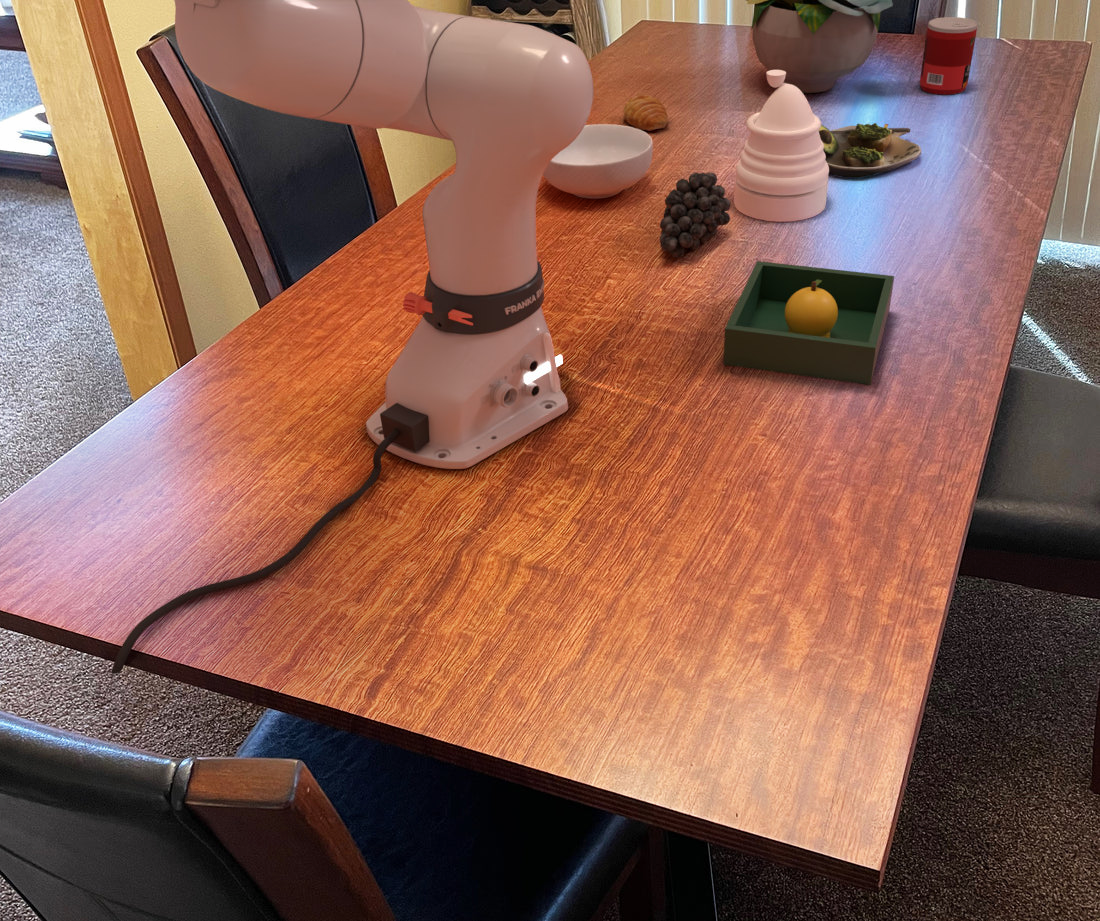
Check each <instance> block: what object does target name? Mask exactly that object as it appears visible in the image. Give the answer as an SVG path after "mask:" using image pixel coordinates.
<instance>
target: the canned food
mask: <svg viewBox="0 0 1100 921" xmlns="http://www.w3.org/2000/svg"><path fill="white" fill-rule="evenodd" d="M977 32H978V22H977V21H976V20H974V19H971V18H966V17H960V16H958V17H957V16H945V17H937V18H932V19H930V20H929V21H928V24H927V27H926V34H925V41H924V49H923V55H922V61H921V70H920V79H919V87H920V89H921V90H922V91H924V92H925V93H929V94H933V95H940V96H941V95H942V96H944V95H945V96H949V95H951V96H952V95H957V94H960V93H963V92H964V91H966V88H967V86H968V85H969V79H970V72H971V67H972V61H973V56H974V49H975V43H976V39H977V38H976V37H977Z"/></svg>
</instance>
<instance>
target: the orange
mask: <svg viewBox="0 0 1100 921" xmlns="http://www.w3.org/2000/svg"><path fill="white" fill-rule="evenodd" d="M821 282H822V280H816V281H813V282H812V285H811V287H807V288H803V289H800V290H799V291H797V292H796V293H794V294H793V295H792V296H791V297H790V299H789V300H788V302H787V304H786V307H785V320H786V324H787V326H788V327H789V331H788V332H789V333H796V334H804V335H812V336H820V337H828V338H830V331H831V329H832V328H833V327H834V325H835V323H836V321H837V316H838V308H837V304H836V302H835V300H834V298H833V297H832V296H831V295H830V294H829V293H828V292H827V291H825V290H823V289H821V288H817V286H818V285H819V284H820V283H821Z"/></svg>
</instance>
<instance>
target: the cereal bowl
mask: <svg viewBox="0 0 1100 921" xmlns="http://www.w3.org/2000/svg"><path fill="white" fill-rule="evenodd" d="M653 153H654V141H653V138H652V136H650V134H648V133H647V132H646V131H644V130H640V129H638V128H637V127H636V128H635V127H634V126H628V125H623V124H622V125H621V124H612V123H611V124H610V123H595V124H585V126H584V128H583V130H582V131H581V132H580V134H579V135H578V137H577V138H576V139H575V140H574V141H573V142H572V143H571V144H570V145H569V146H568V147H566V148H565V149H563V150H562V151H560V152H559V153H558V154H557V155H556V156H555V157H554V158H553V159H552V160H551V161H550V163H549V164H548V166H547V167H546V169H545V171H544V173H543V176H542V177H544V179H545V180H546V181H547V182H548V183H549V184H550V185H551V186H553V187H554V188H556V189H557V190H560V191H562V192H565V193H568V194H572V195H573V196H576V197H578V198H583V199H587V200H588V199H590V200H598V199H606V198H610V197H614V196H617V195H618V194H620V193H622V191H624V190H626V189H629V188H630V187H633V186H634V185H636V184H637V183H638V182H640V181H641V180H642V179H643V178H644V177H645V175H646V174H647V172H648V171H649V169H650V168H651V164H652V161H653Z"/></svg>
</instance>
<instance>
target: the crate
mask: <svg viewBox="0 0 1100 921" xmlns="http://www.w3.org/2000/svg"><path fill="white" fill-rule="evenodd" d="M752 269H753V270H752V271H751V273H750V275H749V277H748V279H747V281H746V283H745V286H744V288H743V290H742V291H741V294H740V296H739V298H738V300H737V302H736V304H735V306H734V308H733V311H732V312H731V315H730V317H729V319H728V321H727V323H726V325H725V327H724V341H723V342H724V343H723V362H722V363H723V366H731V367H737V368H738V367H739V368H745V369H752V370H760V371H765V372H766V371H767V372H775V373H781V374H788V375H795V376H801V377H810V378H816V379H824V380H832V381H836V382H837V381H839V382H845V383H852V384H859V385H867V386H871V385H872V381H873V378H874V375H875V374H874V373H875V370H876V365H877V363H878V362H877V361H878V357H879V353H880V350H881V346H882V341H883V337H884V333H885V330H886V326H887V322H888V317H889V313H890V308H891V302H892V295H893V288H894V280H895V276H894V275H890V274H889V275H888V274H879V273H872V272H870V273H869V272H862V271H851V270H842V269H834V268H824V267H816V266H806V265H798V264H788V263H779V262H769V261H761V260H760V261H759V260H756V263H755V264H754V267H753V268H752ZM816 280H822V282H821V283H820V284H819V285H818V286H817V288H821V289H823V290H825V291H827V292H828V293H829V294H830V295H831V296H832V297H833V298H834V300H835V302H836V304H837V308H838V316H837V321H836V323H835V325H834V327H833V328H832V329H831V331H830V338H828V337H820V336H812V335H804V334H796V333H789V332H788V331H789V327H788V326H787V324H786V320H785V307H786V304H787V302H788V300H789V299H790V297H791V296H792V295H793V294H794V293H796V292H797V291H799V290H800V289H803V288H807V287H811V285H812V282H813V281H816Z"/></svg>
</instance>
